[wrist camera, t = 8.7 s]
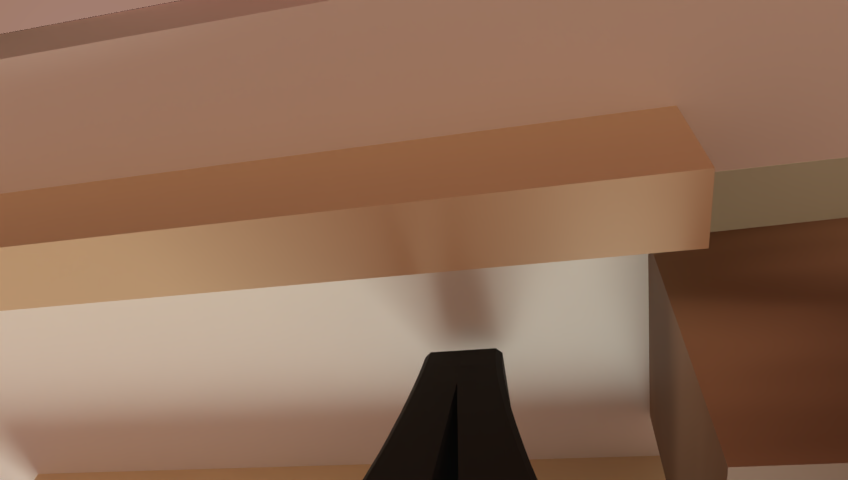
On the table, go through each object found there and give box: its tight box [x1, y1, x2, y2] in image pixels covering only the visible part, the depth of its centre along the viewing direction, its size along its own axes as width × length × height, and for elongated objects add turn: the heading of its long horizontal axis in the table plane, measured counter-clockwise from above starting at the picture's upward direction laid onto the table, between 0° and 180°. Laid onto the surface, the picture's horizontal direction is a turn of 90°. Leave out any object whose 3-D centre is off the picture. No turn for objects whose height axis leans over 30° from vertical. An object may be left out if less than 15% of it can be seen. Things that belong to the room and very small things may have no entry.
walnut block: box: [648, 217, 848, 480], centre depth 9 cm, size 4×4×4 cm
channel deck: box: [0, 0, 848, 480], centre depth 12 cm, size 38×14×4 cm, turn 101°
